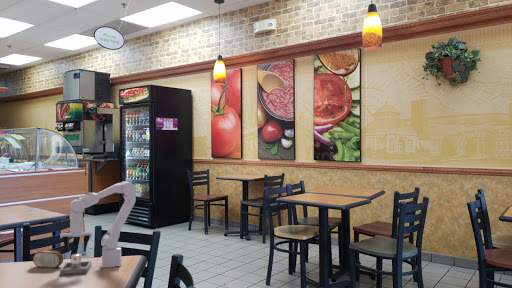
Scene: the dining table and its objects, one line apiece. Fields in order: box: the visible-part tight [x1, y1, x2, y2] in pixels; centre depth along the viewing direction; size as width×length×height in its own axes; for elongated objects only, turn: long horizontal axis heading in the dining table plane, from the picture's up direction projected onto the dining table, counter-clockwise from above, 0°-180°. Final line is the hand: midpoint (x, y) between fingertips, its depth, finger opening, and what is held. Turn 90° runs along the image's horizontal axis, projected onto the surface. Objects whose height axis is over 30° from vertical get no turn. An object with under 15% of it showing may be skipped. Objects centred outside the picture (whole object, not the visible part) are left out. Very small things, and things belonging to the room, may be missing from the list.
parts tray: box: [59, 260, 92, 276], centre depth 191 cm, size 12×12×2 cm
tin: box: [32, 249, 64, 269], centre depth 196 cm, size 15×3×8 cm, turn 84°
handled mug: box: [70, 253, 82, 269], centre depth 190 cm, size 4×6×7 cm
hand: (76, 251), depth 191 cm, fingers open, 7 cm apart
